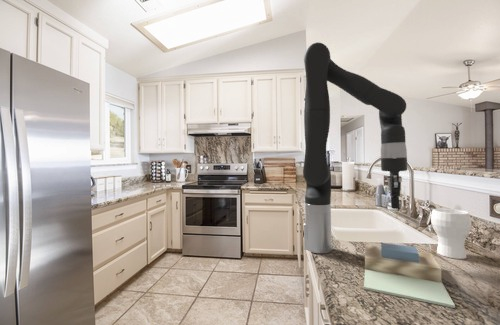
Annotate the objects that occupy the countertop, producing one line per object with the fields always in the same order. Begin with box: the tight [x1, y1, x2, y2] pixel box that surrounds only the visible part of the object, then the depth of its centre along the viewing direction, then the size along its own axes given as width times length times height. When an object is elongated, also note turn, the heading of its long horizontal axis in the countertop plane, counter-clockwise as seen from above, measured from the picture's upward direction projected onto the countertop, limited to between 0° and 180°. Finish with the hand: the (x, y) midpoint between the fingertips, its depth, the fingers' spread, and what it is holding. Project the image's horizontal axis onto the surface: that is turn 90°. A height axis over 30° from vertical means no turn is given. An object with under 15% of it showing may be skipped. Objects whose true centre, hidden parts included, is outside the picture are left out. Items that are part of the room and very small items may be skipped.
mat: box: [363, 268, 456, 309], centre depth 60 cm, size 18×11×1 cm, turn 62°
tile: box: [380, 242, 419, 263], centre depth 70 cm, size 9×6×2 cm, turn 62°
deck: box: [364, 244, 442, 283], centre depth 71 cm, size 18×12×4 cm, turn 62°
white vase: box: [430, 208, 472, 260], centre depth 81 cm, size 11×11×15 cm
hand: (395, 208), depth 79 cm, fingers closed
